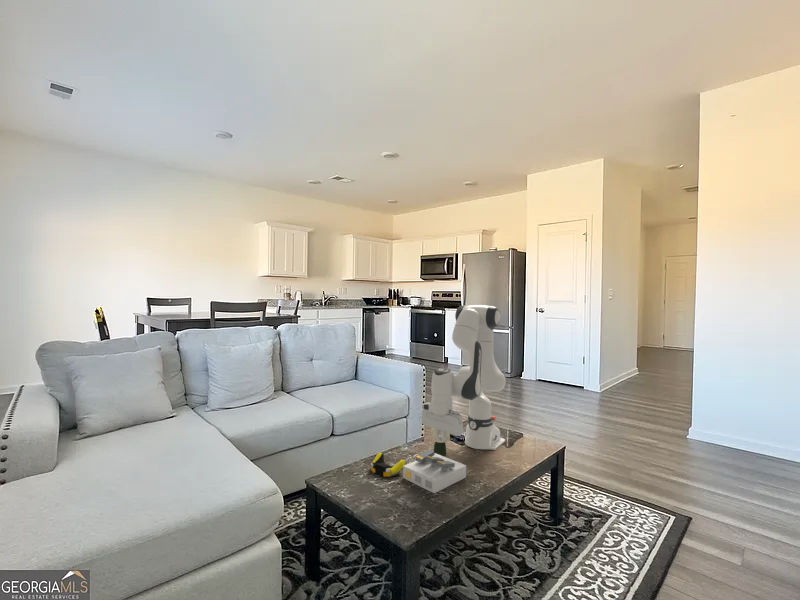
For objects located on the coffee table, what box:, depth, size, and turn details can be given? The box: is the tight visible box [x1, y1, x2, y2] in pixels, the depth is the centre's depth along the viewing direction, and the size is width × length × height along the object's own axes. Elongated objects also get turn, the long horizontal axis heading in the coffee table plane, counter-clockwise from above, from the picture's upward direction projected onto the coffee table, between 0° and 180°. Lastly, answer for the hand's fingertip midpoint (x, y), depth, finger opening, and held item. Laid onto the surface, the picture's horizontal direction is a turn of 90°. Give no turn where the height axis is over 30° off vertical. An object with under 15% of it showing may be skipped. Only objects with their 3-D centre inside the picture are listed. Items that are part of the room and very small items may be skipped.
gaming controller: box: [370, 452, 406, 478], centre depth 169 cm, size 15×6×10 cm
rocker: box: [426, 456, 444, 463], centre depth 164 cm, size 8×3×2 cm, turn 134°
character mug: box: [430, 427, 451, 456], centre depth 188 cm, size 11×7×13 cm, turn 47°
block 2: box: [436, 461, 455, 468], centre depth 160 cm, size 8×3×2 cm, turn 134°
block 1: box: [415, 448, 435, 463], centre depth 168 cm, size 8×3×2 cm, turn 134°
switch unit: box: [402, 453, 467, 494], centre depth 164 cm, size 20×17×6 cm
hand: (441, 440), depth 167 cm, fingers closed
